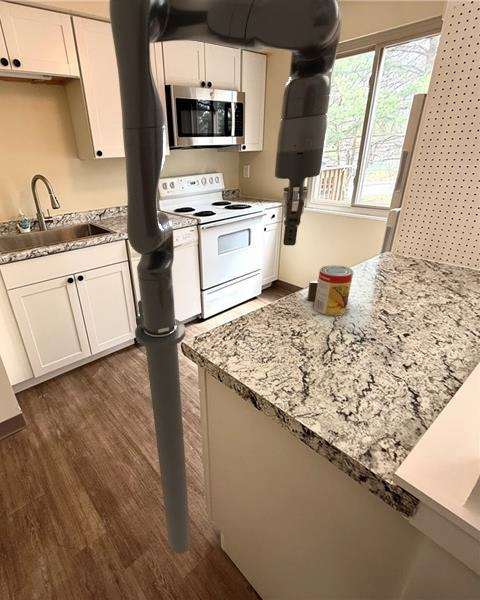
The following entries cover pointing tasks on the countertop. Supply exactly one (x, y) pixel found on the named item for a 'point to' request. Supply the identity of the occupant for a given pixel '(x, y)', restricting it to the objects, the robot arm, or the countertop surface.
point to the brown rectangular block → (312, 290)
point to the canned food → (333, 290)
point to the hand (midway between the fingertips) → (289, 244)
